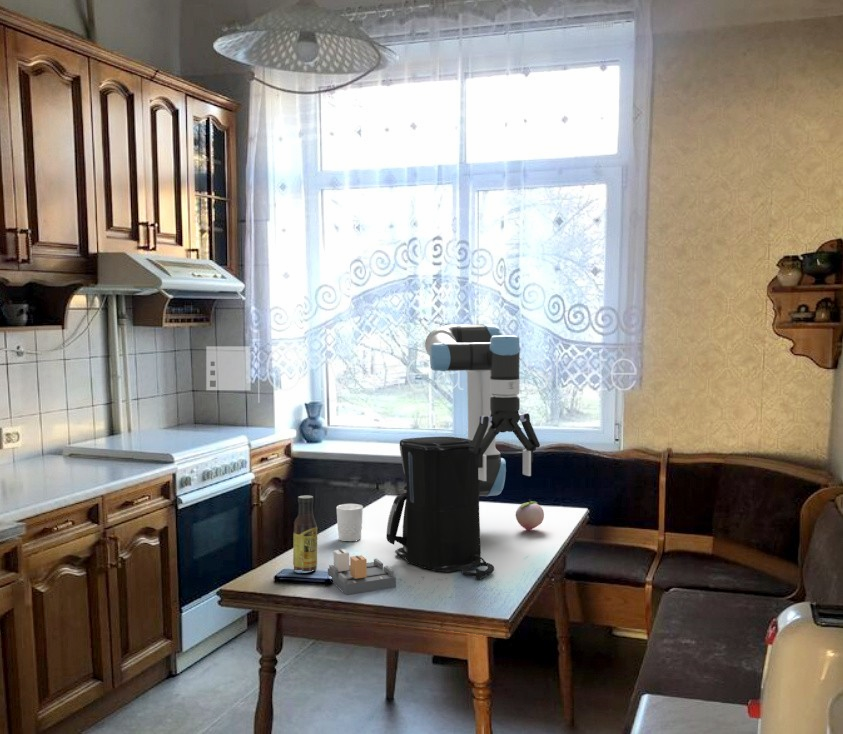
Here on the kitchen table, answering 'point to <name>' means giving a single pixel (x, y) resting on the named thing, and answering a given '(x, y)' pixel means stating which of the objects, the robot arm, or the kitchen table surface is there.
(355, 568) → the orange fader
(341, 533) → the white cup
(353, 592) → the panel
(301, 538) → the sauce bottle
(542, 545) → the kitchen table surface
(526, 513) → the decorative fruit
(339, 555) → the white fader
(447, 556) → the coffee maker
